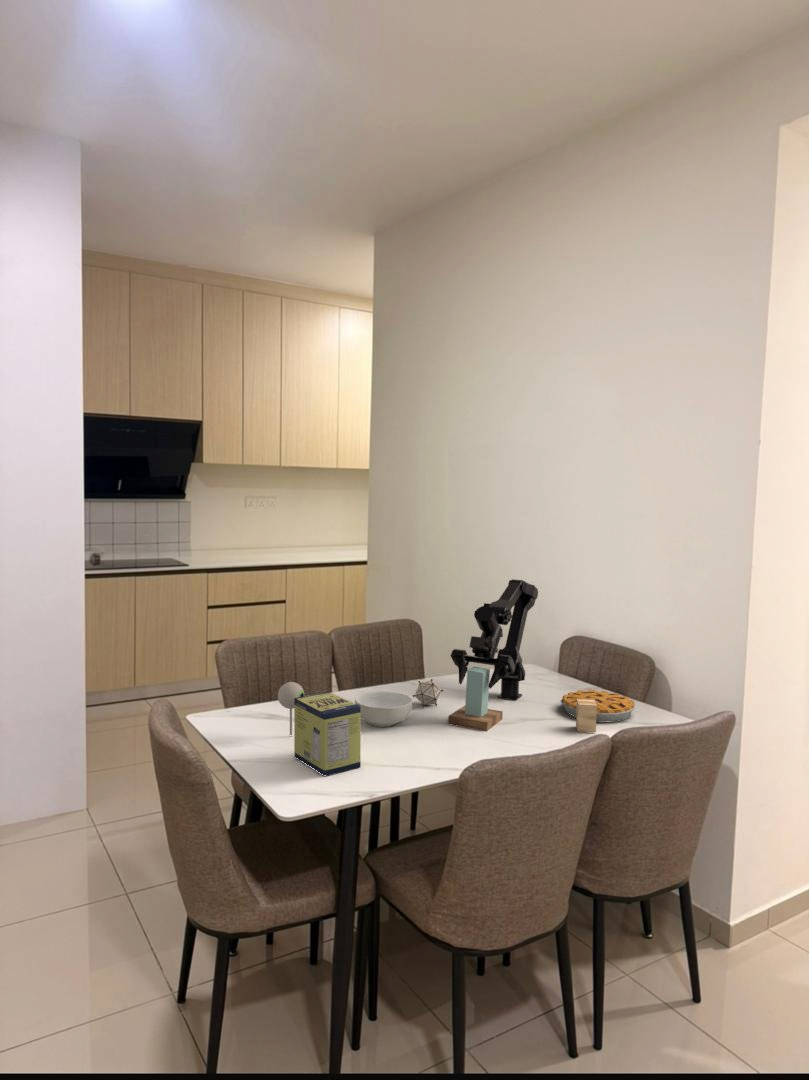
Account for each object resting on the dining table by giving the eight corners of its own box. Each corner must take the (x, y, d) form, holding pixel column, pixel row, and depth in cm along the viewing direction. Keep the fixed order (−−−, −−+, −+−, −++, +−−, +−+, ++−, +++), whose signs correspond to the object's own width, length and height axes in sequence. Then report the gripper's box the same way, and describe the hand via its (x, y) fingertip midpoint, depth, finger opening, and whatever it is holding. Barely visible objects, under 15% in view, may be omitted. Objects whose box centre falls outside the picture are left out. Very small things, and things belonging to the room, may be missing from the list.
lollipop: (296, 742, 201) (296, 687, 200) (272, 738, 204) (272, 684, 203) (308, 734, 208) (308, 680, 207) (285, 730, 211) (285, 677, 209)
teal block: (471, 709, 224) (473, 666, 222) (487, 712, 221) (489, 669, 220) (464, 714, 219) (467, 670, 218) (480, 717, 217) (483, 672, 216)
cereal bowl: (405, 734, 209) (406, 709, 208) (347, 729, 212) (347, 705, 212) (417, 715, 226) (417, 692, 225) (363, 711, 229) (363, 688, 228)
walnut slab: (464, 714, 229) (465, 705, 228) (502, 721, 223) (502, 711, 223) (448, 726, 218) (448, 715, 218) (487, 732, 213) (487, 722, 212)
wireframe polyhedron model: (421, 718, 235) (402, 693, 234) (432, 702, 242) (414, 677, 241) (442, 709, 230) (422, 683, 229) (452, 693, 236) (433, 668, 236)
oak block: (576, 726, 217) (576, 699, 217) (593, 727, 217) (594, 700, 216) (577, 732, 212) (578, 704, 212) (595, 733, 212) (596, 705, 211)
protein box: (328, 749, 197) (328, 690, 196) (361, 767, 184) (362, 705, 183) (293, 757, 191) (293, 697, 189) (324, 777, 178) (324, 713, 177)
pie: (602, 729, 216) (603, 712, 215) (546, 710, 233) (546, 694, 233) (649, 716, 229) (650, 699, 228) (592, 698, 246) (593, 683, 246)
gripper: (453, 622, 226) (437, 666, 217) (512, 628, 218) (498, 674, 209) (463, 643, 234) (448, 686, 225) (521, 650, 225) (507, 695, 216)
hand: (474, 685), depth 218 cm, fingers open, 9 cm apart
